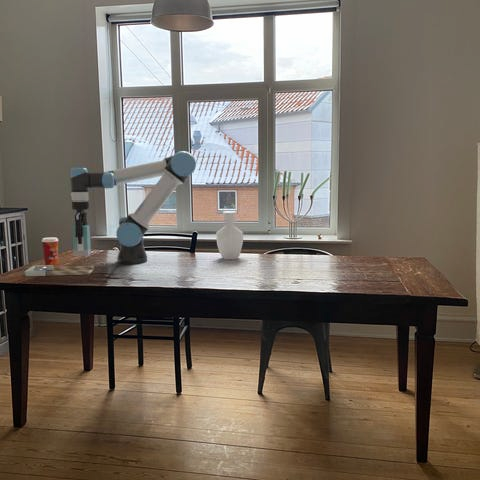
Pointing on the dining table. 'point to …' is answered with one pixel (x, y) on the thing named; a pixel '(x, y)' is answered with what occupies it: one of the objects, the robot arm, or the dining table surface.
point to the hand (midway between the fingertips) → (82, 249)
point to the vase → (229, 237)
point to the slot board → (71, 270)
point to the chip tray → (37, 273)
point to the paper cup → (50, 250)
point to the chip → (42, 267)
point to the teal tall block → (86, 242)
